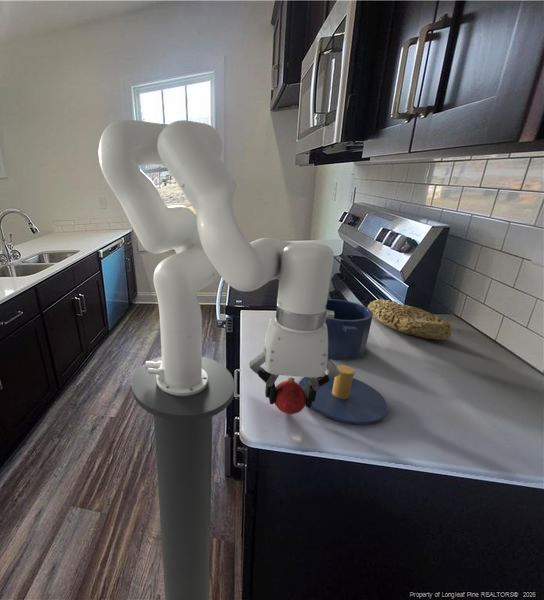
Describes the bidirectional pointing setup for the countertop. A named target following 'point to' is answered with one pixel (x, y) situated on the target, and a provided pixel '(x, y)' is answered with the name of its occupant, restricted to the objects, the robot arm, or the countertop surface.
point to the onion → (289, 397)
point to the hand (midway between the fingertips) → (288, 400)
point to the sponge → (410, 320)
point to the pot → (347, 329)
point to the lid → (348, 399)
